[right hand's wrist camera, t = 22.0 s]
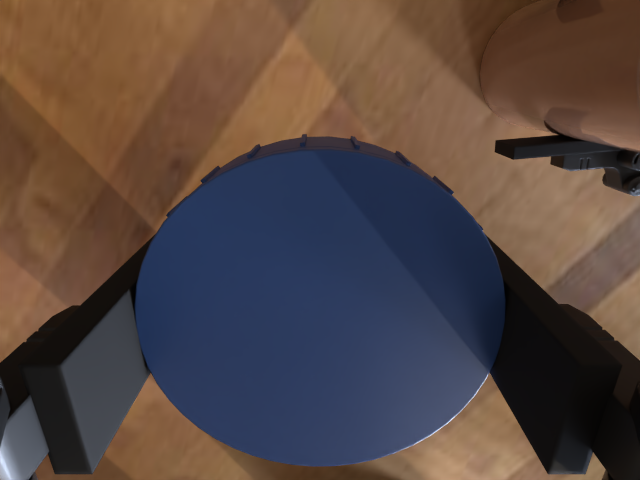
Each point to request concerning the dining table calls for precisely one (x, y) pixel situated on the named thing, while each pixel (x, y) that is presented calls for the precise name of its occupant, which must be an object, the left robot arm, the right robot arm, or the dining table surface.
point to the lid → (320, 303)
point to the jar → (568, 70)
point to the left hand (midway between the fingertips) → (510, 70)
